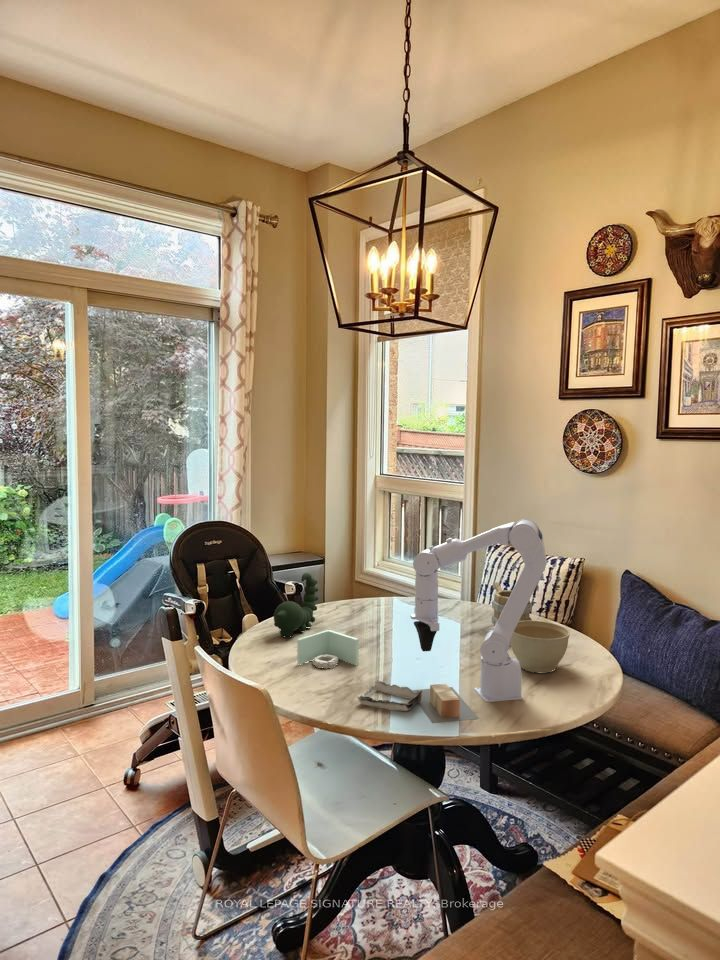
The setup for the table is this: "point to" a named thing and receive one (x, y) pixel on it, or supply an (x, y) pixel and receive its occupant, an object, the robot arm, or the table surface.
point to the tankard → (500, 602)
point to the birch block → (444, 700)
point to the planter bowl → (539, 645)
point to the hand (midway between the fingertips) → (426, 650)
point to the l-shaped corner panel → (328, 649)
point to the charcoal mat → (433, 713)
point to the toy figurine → (297, 610)
